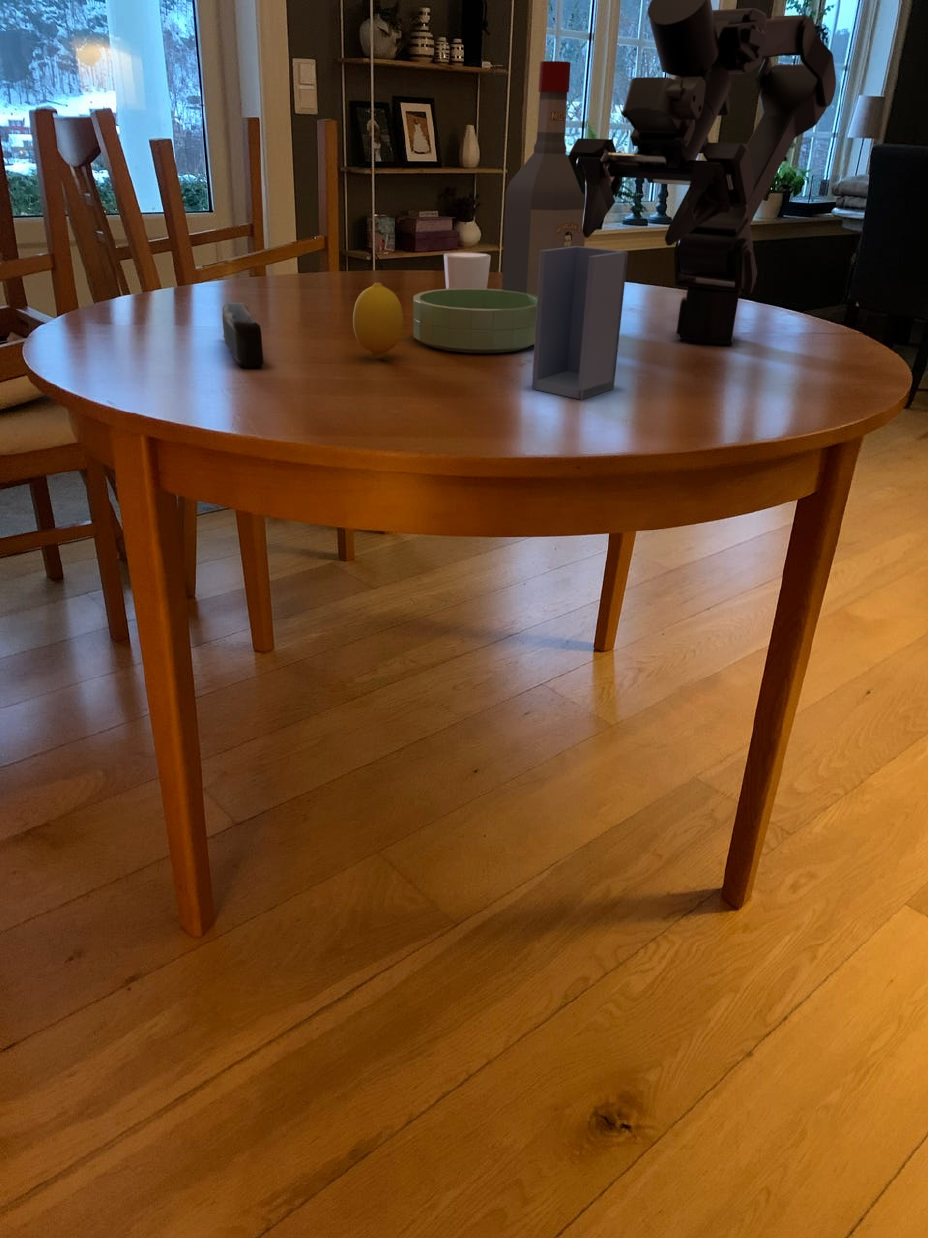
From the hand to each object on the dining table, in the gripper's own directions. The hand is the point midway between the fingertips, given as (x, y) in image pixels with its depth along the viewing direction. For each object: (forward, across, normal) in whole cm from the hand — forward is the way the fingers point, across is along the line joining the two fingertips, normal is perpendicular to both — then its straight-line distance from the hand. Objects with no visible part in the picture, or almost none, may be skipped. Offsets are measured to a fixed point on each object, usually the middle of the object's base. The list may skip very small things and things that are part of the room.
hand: (625, 238), depth 90 cm
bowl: (+7, -21, +13) cm, 25 cm away
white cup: (-7, -37, +26) cm, 46 cm away
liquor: (-4, -21, +23) cm, 32 cm away
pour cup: (+15, 0, +4) cm, 16 cm away
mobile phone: (+24, -36, -4) cm, 43 cm away
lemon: (+17, -24, +2) cm, 29 cm away
